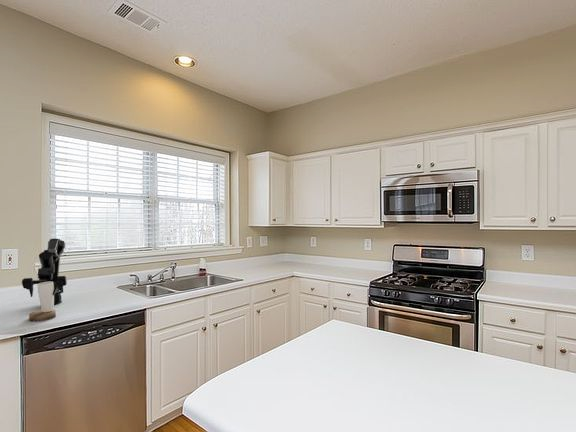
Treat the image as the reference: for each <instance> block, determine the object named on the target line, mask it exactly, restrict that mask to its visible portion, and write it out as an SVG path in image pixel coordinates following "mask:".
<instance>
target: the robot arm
mask: <svg viewBox="0 0 576 432" xmlns="http://www.w3.org/2000/svg"><path fill="white" fill-rule="evenodd" d="M65 249H66V243H65V240H63V239H60V238H49V241H48V242H47V249H44V251H42V252H40V253H39V255H38V259H39V263H40V265H41V267H39V268H38V270H37V279H33V277H26V278H25V277H24V278H22V280H21V285H22V289H25V290H28V291H29V295H30V298H33V296H34V285H38V284H39V283H42V282H48V281H53V283H54V291H53V295H54V306H56V305H58V304H61V303H62V302H63V301H62V295H61V294H63V293H64V286H67V283H68V281H67V276H66V275H59V274H60V272H59V271H60V263H61V255H62V254H63V253H64V250H65Z"/></svg>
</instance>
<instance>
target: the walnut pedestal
mask: <svg viewBox="0 0 576 432" xmlns="http://www.w3.org/2000/svg"><path fill="white" fill-rule="evenodd" d="M56 312H57V311H56V310H55V309H54V310H53V311H50V312H45V313H44V312H42V311H41V310H40V309H39V310H34V311H32V312H30V313H29V314H28V321H29V322H34V323H35V322H44V321H49V320H51V319H55V318H56Z"/></svg>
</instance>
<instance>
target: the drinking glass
mask: <svg viewBox="0 0 576 432" xmlns="http://www.w3.org/2000/svg"><path fill="white" fill-rule="evenodd" d="M53 291H54V283H53V281H48V282H42V283H39V284H37V293H38V298H39V302H40V308H41V311H42V312H44V313H45V312H50V311H53V310H55V305H54V295H53Z"/></svg>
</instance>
